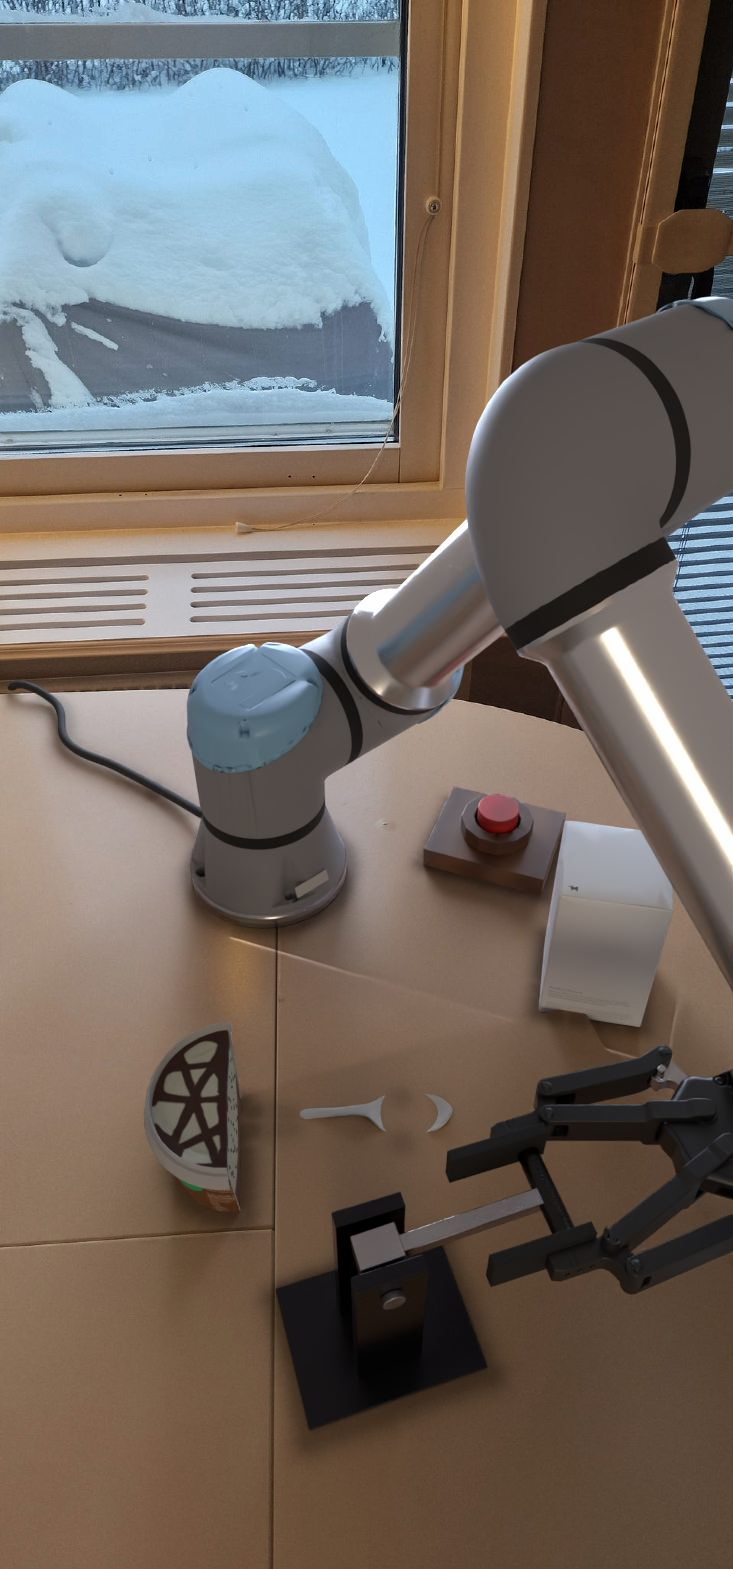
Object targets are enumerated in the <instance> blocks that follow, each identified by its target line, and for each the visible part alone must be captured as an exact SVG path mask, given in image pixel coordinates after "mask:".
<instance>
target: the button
mask: <svg viewBox="0 0 733 1569" xmlns="http://www.w3.org/2000/svg"><path fill="white" fill-rule="evenodd" d="M493 794H494V795H493ZM493 794H488V795H489V796H486V797H484V798H483V799H482V800H481V801H480V803H479V805H478V815H477V821H478V824H479V825H480V827H481V828H482V829H484V830H485V831H487V832H490V833H494V834H503V833H508V832H511V831H512V830H514V829H515V827H516V826H517V823H518V815H519V806H518V804H517V803H516V801H515V800H513V799H512V798H510V797H511V796H509V795H504V794H499V793H493ZM508 796H509V797H508Z"/></svg>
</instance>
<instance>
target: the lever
mask: <svg viewBox="0 0 733 1569" xmlns="http://www.w3.org/2000/svg"><path fill="white" fill-rule="evenodd" d="M518 1161H519V1162H518V1163H519V1165H520V1167H521V1169H522V1172H523V1174H524V1176H525V1178H526V1181H527V1182H528V1186H529V1187H530V1189H527V1190H525V1191H522V1192H520V1193H517V1194H513V1195H511V1196H508V1197H505V1198H503V1199H500V1200H497V1201H494V1202H490V1203H488V1204H485V1205H482V1206H479V1207H476V1208H473V1209H469V1210H467V1211H464V1212H461V1213H459V1214H455V1215H452V1216H449V1217H447V1218H443V1219H441V1220H437V1221H435V1222H431V1223H429V1224H426V1225H423V1226H420V1227H417V1228H414V1229H411V1230H408V1231H406V1232H405V1231H404V1233H402V1234H398V1231H397V1228H396V1225H395V1222H391V1223H388V1224H385V1225H382V1226H379V1227H376V1228H373V1229H370V1230H367V1231H364V1232H361V1233H358V1234H355V1235H352V1236H350V1239H351V1246H352V1252H353V1256H354V1260H355V1263H356V1266H357V1270H358V1273H359V1275H360V1274H363V1273H366V1272H369V1271H372V1270H375V1269H378V1268H382V1267H385V1266H388V1265H391V1264H394V1263H397V1262H400V1261H403V1260H406V1258H407V1257H410V1256H413V1255H415V1254H418V1253H421V1252H424V1251H427V1250H430V1249H433V1248H436V1247H439V1246H444V1245H447V1244H451V1243H453V1242H455V1241H456V1242H457V1241H459V1240H462V1239H465V1238H467V1237H471V1236H473V1235H476V1234H479V1233H482V1232H485V1231H488V1230H491V1229H494V1228H496V1227H499V1226H503V1225H505V1224H508V1223H511V1222H514V1221H517V1220H519V1219H522V1218H525V1217H528V1216H532V1215H534V1214H537V1213H539V1212H541V1213H542V1216H543V1218H544V1220H545V1223H546V1225H547V1226H548V1229H549V1232H550V1233H551V1234H554V1233H557V1232H560V1231H563V1230H566V1229H569V1228H572V1227H575V1226H576V1225H575V1224H574V1222H573V1220H572V1218H571V1215H570V1214H569V1212H568V1209H567V1207H566V1205H565V1203H564V1201H563V1199H562V1197H561V1195H560V1192H559V1190H558V1188H557V1187H556V1186H557V1185H556V1184H555V1182H554V1180H553V1178H552V1175H551V1173H550V1171H549V1169H548V1168H547V1165H546V1162H545V1161H544V1158H543V1157H542V1155H540V1152H539V1150H538V1149H537V1148H535V1147H531V1148H528V1149H525V1150H523V1151H522V1152H521V1153H520V1154H519V1155H518Z"/></svg>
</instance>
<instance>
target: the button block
mask: <svg viewBox="0 0 733 1569" xmlns="http://www.w3.org/2000/svg"><path fill="white" fill-rule="evenodd" d="M494 794H495V793H493V794H492V795H494ZM489 795H490V794H488V793H484V792H483V793H482V792H481V791H480V792H479V791H476V790H470V789H467V788H463V787H458V786H452V788H451V791H450V792H449V794H448V797H447V799H446V801H445V803H444V805H443V807H442V809H441V812H440V814H439V816H438V818H437V820H436V822H435V823H434V824H435V825H434V827H433V828H432V831H431V833H430V835H429V837H428V839H427V842H426V844H425V846H424V847H423V856H422V865H424V866H427V867H431V868H435V869H439V870H443V871H446V872H451V873H454V874H456V875H457V874H458V875H461V876H465V877H469V878H472V879H477V880H480V881H484V882H489V883H492V884H496V885H499V886H504V887H507V888H511V889H515V890H518V891H523V892H527V893H530V894H534V895H538V896H542V894H543V891H544V888H545V885H546V882H547V879H548V878H549V877H548V876H549V873H550V870H551V867H552V864H553V861H554V858H555V856H556V852H557V849H558V847H559V844H560V842H561V841H560V840H561V839H562V834H563V829H564V824H565V821H566V816H567V812H563V811H559V810H554V809H551V808H546V807H544V806H543V807H542V806H539V805H538V806H537V805H534V804H529V803H525V802H521V801H520V800H518V798H516V797H513V796H509V795H507V796H508V797H510V798H512V799H513V800H515V801H516V803H517V804H518V806H519V815H518V823H517V826H516V827H515V829H514V830H512V831H511V832H508V833H503V834H494V833H490V832H487V831H485V830H484V829H482V828H481V827H480V825H479V824H478V821H477V815H478V805H479V803H480V801H481V800H482V799H483V798H484V797H486V796H489Z"/></svg>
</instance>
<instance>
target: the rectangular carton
mask: <svg viewBox="0 0 733 1569" xmlns="http://www.w3.org/2000/svg"><path fill="white" fill-rule="evenodd" d="M560 840H561V841H560V846H559V853H558V858H557V865H556V871H555V876H554V881H553V882H554V883H553V889H552V894H551V901H550V905H549V906H550V907H549V913H548V918H547V919H548V920H547V924H546V930H545V937H544V946H543V956H542V966H541V967H542V968H541V978H540V988H539V997H538V998H539V999H538V1011H539V1012H541V1013H548V1012H551V1011H556V1010H562V1011H567V1012H573V1013H579V1014H585V1015H586V1017H587V1019H588V1020H592V1021H597V1022H598V1021H599V1022H605V1023H609V1024H610V1023H611V1024H617V1025H624V1026H631V1027H635V1028H636V1027H637V1028H640V1027H641V1026H642V1022H643V1019H644V1015H645V1012H646V1008H647V1004H648V1001H649V997H650V994H651V990H652V988H653V984H654V980H655V977H656V973H657V969H658V966H659V964H660V959H661V955H662V952H663V949H664V946H665V942H666V938H667V935H668V932H669V929H670V925H671V921H672V918H673V914H674V888H673V887H672V885H671V883H670V881H669V880H668V878H667V876H666V874H665V873H664V871H663V869H662V867H661V866H660V864H659V862H658V860H657V859H656V857H655V855H654V853H653V852H652V850H651V848H650V846H649V845H648V843H647V841H646V839H645V838H644V836H643V834H642V832H641V831H640V829H636V828H635V829H634V828H627V827H618V826H612V825H605V824H598V823H591V822H584V821H577V820H565V823H564V829H563V832H562V835H561V839H560Z"/></svg>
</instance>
